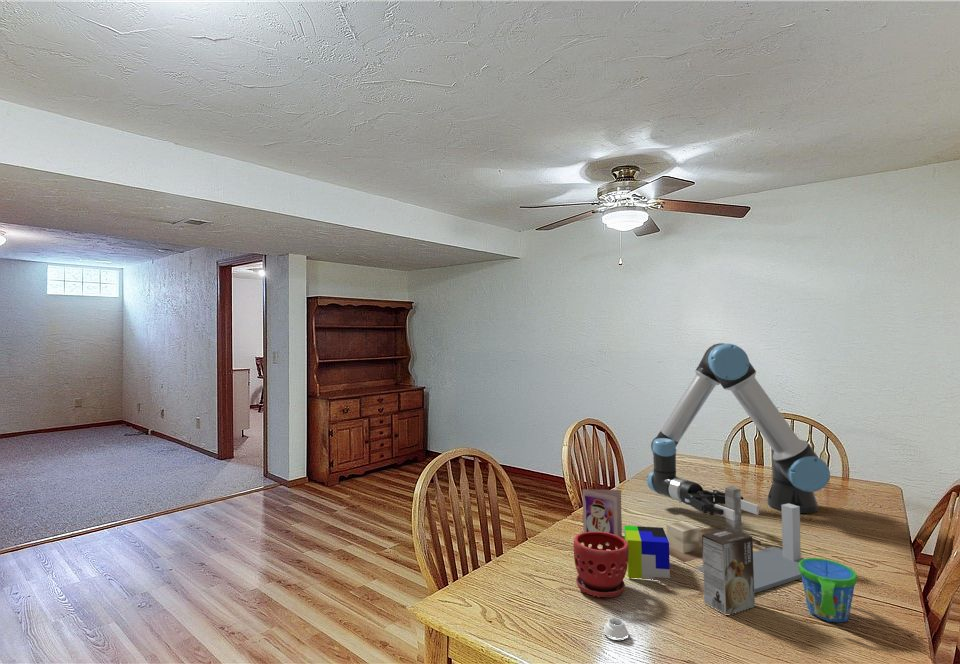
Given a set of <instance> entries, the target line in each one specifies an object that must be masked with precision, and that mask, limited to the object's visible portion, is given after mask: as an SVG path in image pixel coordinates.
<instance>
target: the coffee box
mask: <svg viewBox="0 0 960 664" xmlns="http://www.w3.org/2000/svg"><path fill="white" fill-rule="evenodd" d="M752 538H753V536H751V535H748V534H747V533H743V532H742V533H741V532H739V531H736V530H733V529H730V528H727V529H723V530H719V531H715V532H711V533H706V534H702V550H703V557H702V566H703V572H702V573H703V574H702V575H703V601H704V602H705V603H707V604H708V605H710V606H712V607H713V608H716V609H717V610H719V611H721V612H722V613H724V614H732V613H735V612H738V613H740V612H739V611H741V612H743V611H742V610H744V611H747V610H749V608H750V609H752V608H753V609H754V608H756V604H755V603H756V602H755V593H754V570H753V552H754V549H753V548H754V547H753V544H754V543H752ZM704 602H703V603H704ZM705 603H704V604H705ZM708 605H707V606H708ZM713 608H712V609H713ZM746 609H747V610H746ZM735 614H736V613H735ZM732 615H733V614H732Z"/></svg>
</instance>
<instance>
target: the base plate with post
mask: <svg viewBox="0 0 960 664" xmlns="http://www.w3.org/2000/svg"><path fill="white" fill-rule="evenodd" d="M781 508H782V510H781V542H782V543H781V544H782V546H781V547H782V549H781V548H779V547H776V546H771V547H767V548H763V549H759V550H756V551H753V570H754V594H757V593H760V592H763V591H767V590H769V589H772V588H775V587H778V586H781V585H784V584H788V583H790V582H793V581H796V580H800V579H802V575H801V573H800V571H799V562H800V561H801V560H803V559H805V558H804V557H802V556H801V555H802V554H801V552H802V551H801V549H802V548H801V513H800V507H799V506H796V505H793V504H789V503H788V504H784V505H781ZM695 569H696V570H699V571H700V572H702V573H703V565H702V566H698V567H696V568H695Z"/></svg>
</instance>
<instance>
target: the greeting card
mask: <svg viewBox="0 0 960 664" xmlns="http://www.w3.org/2000/svg"><path fill="white" fill-rule="evenodd" d="M582 519H583V520H582V521H583V523H582V524H583V525H582V528H583V532H582V533H584V532H605V533H610V534H614V535H617V536H619V537H623V528H622V527H623V526H622V522H623V521H622V490H621V489H585V488H583V489H582Z"/></svg>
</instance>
